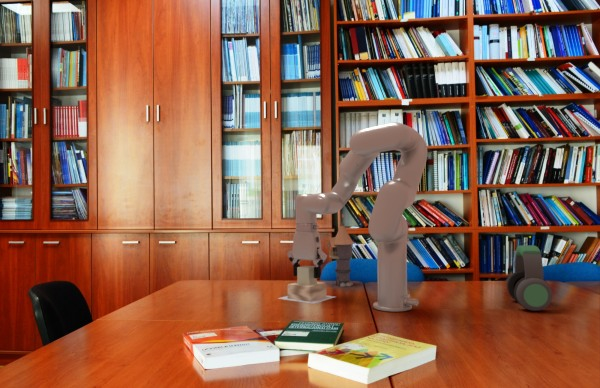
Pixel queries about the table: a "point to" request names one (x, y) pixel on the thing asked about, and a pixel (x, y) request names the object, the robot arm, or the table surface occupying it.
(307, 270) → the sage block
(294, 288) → the block
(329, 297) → the board
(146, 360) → the table surface
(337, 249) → the model tower
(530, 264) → the headphones
